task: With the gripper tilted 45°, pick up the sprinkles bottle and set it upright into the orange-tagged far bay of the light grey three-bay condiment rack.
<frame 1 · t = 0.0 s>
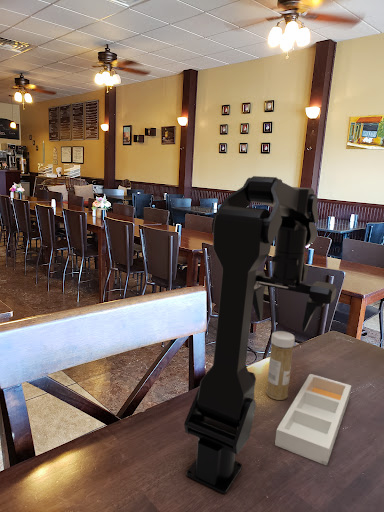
hand: (281, 325, 80), 15 cm above the table, tool pointing down, fingers open, 9 cm apart
sprinkles bottle: (276, 395, 82), on the table
condiment rack: (316, 419, 74), on the table
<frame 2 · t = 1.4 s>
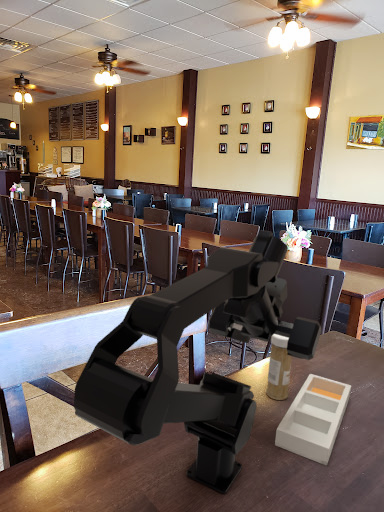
hand: (270, 347, 73), 13 cm above the table, tool tilted 45°, fingers open, 9 cm apart
nothing on the table moved.
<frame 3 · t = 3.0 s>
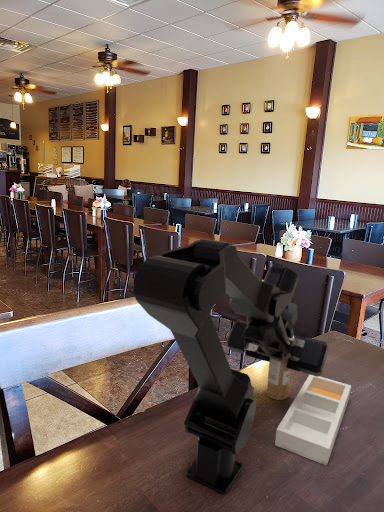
hand: (282, 363, 81), 7 cm above the table, tool tilted 45°, fingers closed on sprinkles bottle, 4 cm apart
sprinkles bottle: (276, 395, 82), on the table, touching gripper
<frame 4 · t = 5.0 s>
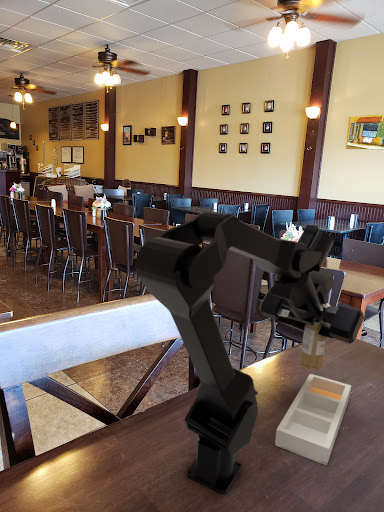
hand: (318, 334, 79), 14 cm above the table, tool tilted 45°, fingers closed on sprinkles bottle, 4 cm apart
sprinkles bottle: (310, 366, 80), point 7 cm above the table, touching gripper
when the fingers open (8 cm above the table, at t = 6.9 s): sprinkles bottle stays where it is, resting on condiment rack.
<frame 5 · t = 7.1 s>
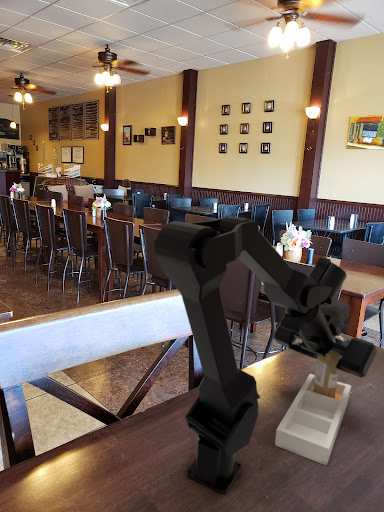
hand: (332, 363, 80), 8 cm above the table, tool tilted 45°, fingers open, 6 cm apart
sprinkles bottle: (323, 398, 80), point 1 cm above the table, touching condiment rack
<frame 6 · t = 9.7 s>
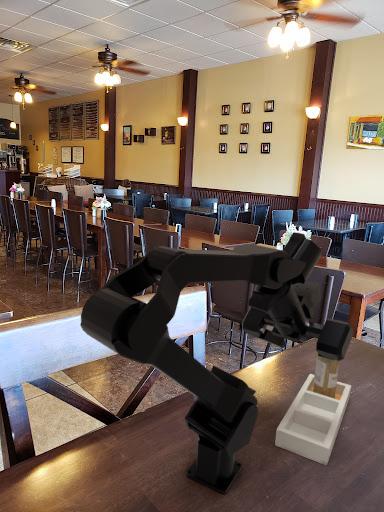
hand: (306, 352, 73), 12 cm above the table, tool tilted 40°, fingers open, 9 cm apart
nothing on the table moved.
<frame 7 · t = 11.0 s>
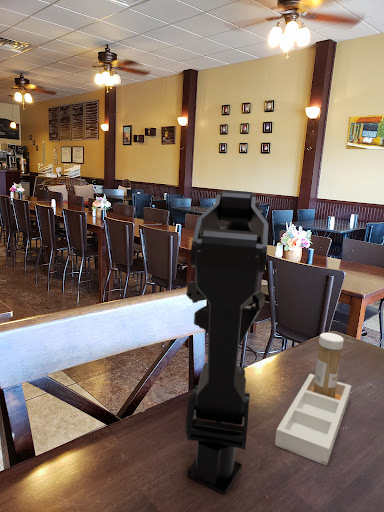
hand: (228, 350, 73), 12 cm above the table, tool pointing down, fingers open, 9 cm apart
nothing on the table moved.
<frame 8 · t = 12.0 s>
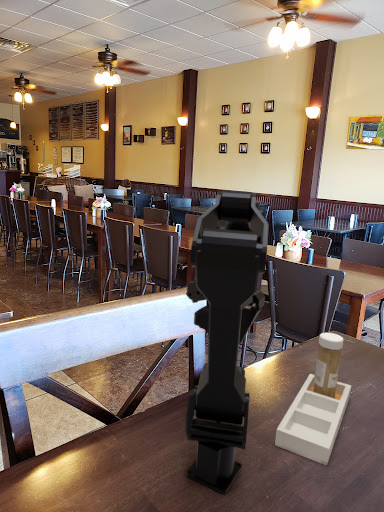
hand: (228, 350, 73), 12 cm above the table, tool pointing down, fingers open, 9 cm apart
nothing on the table moved.
at the end: sprinkles bottle 0.4 cm from the target spot on the condiment rack, point 0.6 cm above the condiment rack's base; sprinkles bottle tilted 0°; the gripper is holding nothing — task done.
